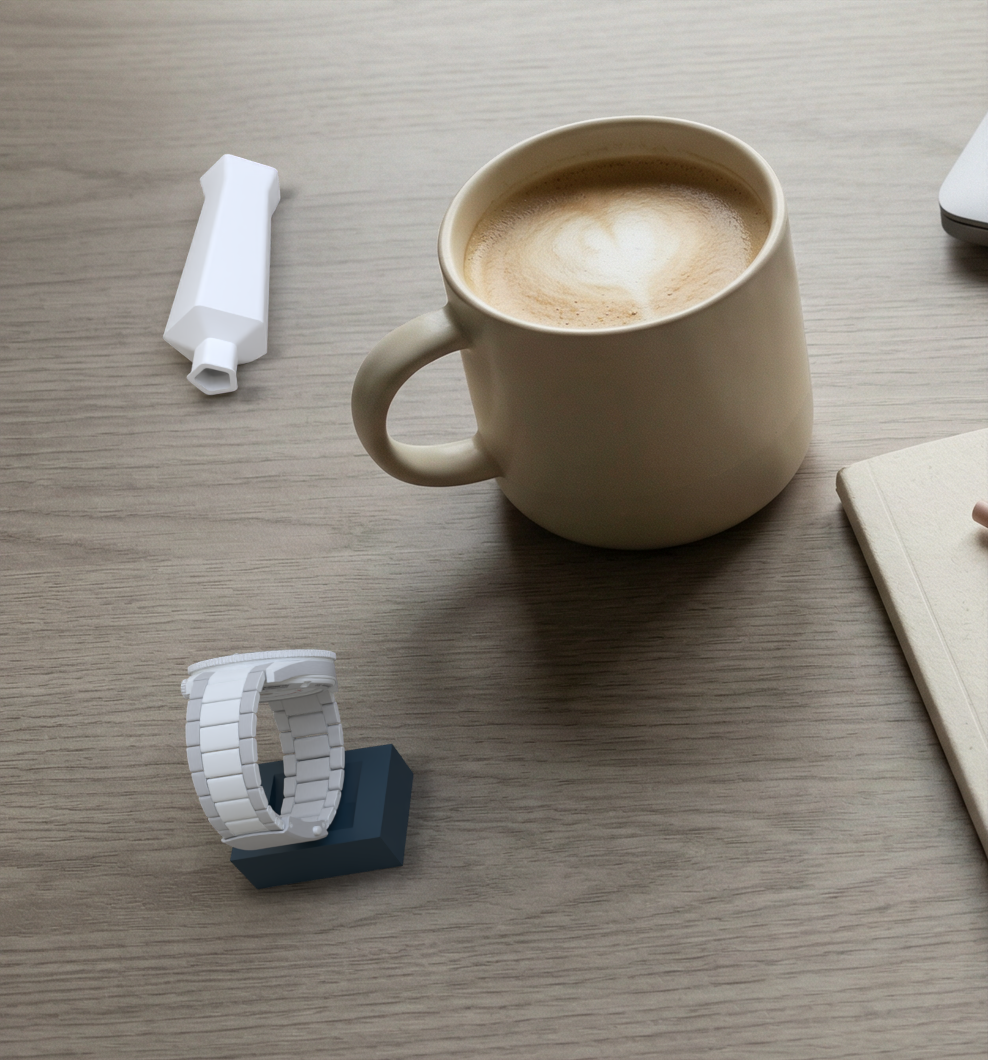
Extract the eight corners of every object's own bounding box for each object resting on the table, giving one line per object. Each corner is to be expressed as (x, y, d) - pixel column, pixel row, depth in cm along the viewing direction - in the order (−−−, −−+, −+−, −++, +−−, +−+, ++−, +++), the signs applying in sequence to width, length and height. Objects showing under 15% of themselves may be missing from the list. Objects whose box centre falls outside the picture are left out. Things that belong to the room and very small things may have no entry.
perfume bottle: (269, 141, 90) (242, 336, 81) (304, 205, 94) (281, 399, 85) (176, 154, 89) (138, 353, 80) (214, 218, 93) (182, 415, 84)
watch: (424, 743, 73) (319, 589, 64) (404, 913, 68) (288, 772, 59) (285, 764, 72) (160, 611, 63) (255, 938, 67) (115, 798, 58)
